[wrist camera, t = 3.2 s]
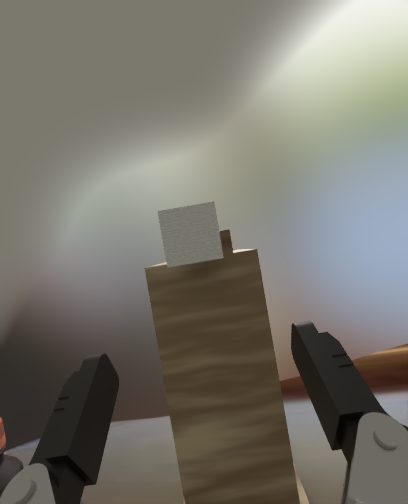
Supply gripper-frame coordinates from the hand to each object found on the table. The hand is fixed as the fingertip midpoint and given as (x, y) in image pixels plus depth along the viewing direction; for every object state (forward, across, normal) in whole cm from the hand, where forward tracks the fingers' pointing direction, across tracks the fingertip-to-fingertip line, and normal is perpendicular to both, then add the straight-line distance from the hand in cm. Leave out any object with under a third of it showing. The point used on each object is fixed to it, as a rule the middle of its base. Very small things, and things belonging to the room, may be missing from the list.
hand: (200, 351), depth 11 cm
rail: (+19, 0, +7) cm, 20 cm away
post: (+5, 0, +36) cm, 36 cm away
